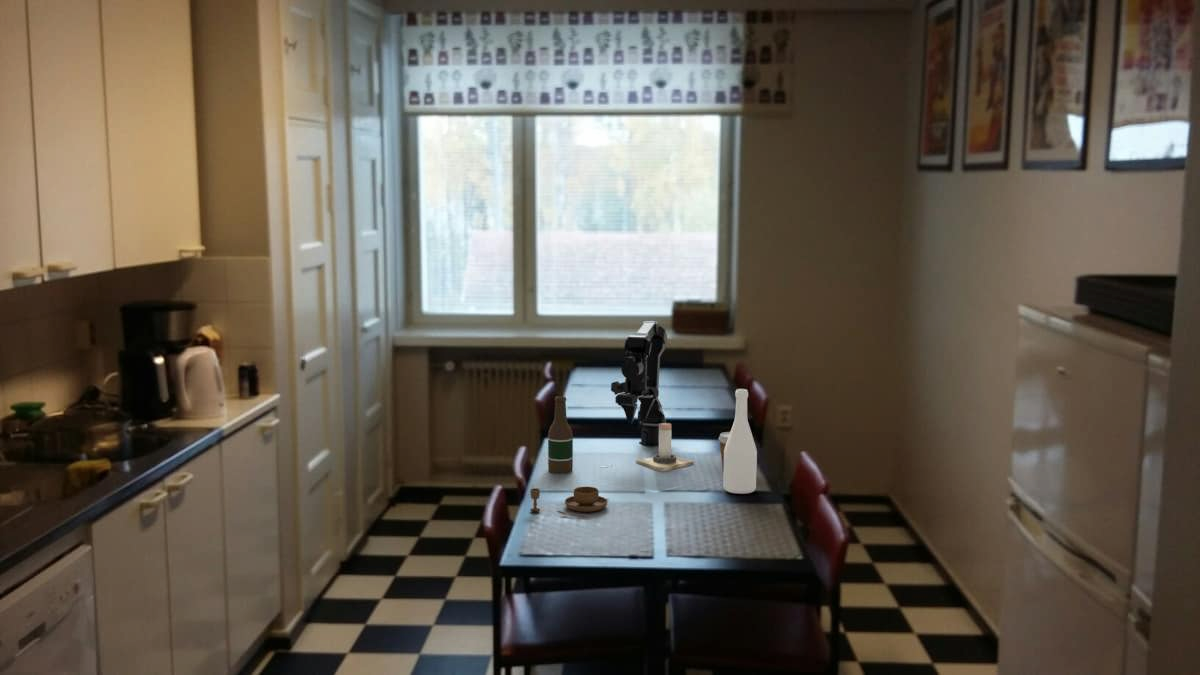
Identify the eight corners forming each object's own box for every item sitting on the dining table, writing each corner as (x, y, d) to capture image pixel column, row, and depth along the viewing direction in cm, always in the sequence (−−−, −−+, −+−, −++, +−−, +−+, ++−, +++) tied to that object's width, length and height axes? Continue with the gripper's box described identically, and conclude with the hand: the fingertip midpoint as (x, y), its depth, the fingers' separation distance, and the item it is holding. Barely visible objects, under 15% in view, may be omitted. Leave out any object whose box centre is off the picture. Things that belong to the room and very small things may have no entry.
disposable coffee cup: (712, 470, 319) (712, 433, 318) (737, 467, 323) (738, 430, 322) (728, 477, 311) (728, 439, 309) (754, 474, 315) (755, 436, 313)
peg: (665, 458, 328) (665, 422, 326) (673, 461, 324) (674, 424, 323) (656, 460, 325) (656, 424, 324) (664, 463, 322) (664, 426, 321)
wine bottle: (724, 494, 292) (727, 392, 288) (721, 485, 302) (723, 386, 298) (757, 494, 292) (760, 392, 288) (753, 485, 301) (756, 387, 298)
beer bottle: (574, 469, 320) (574, 394, 317) (571, 475, 312) (571, 399, 309) (549, 468, 320) (549, 394, 318) (546, 474, 313) (546, 398, 310)
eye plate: (668, 458, 334) (669, 449, 334) (693, 466, 324) (693, 456, 324) (636, 464, 326) (636, 455, 325) (660, 472, 316) (660, 463, 316)
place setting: (598, 517, 271) (598, 496, 270) (528, 511, 276) (527, 491, 275) (613, 500, 288) (614, 479, 287) (547, 494, 293) (547, 474, 292)
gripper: (630, 368, 336) (629, 413, 338) (601, 375, 320) (600, 424, 322) (659, 370, 330) (659, 417, 332) (631, 379, 314) (631, 428, 316)
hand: (637, 421), depth 326 cm, fingers open, 9 cm apart
